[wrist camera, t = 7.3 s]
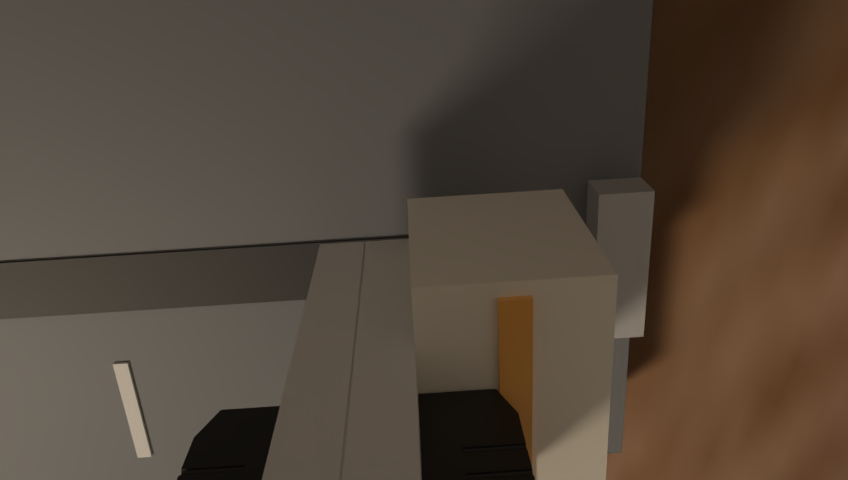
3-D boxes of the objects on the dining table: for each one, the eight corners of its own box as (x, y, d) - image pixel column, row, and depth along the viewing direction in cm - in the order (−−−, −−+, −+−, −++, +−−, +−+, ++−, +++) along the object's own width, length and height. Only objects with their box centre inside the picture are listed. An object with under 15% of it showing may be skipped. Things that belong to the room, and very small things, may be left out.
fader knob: (419, 367, 15) (430, 573, 10) (405, 161, 13) (410, 292, 8) (536, 359, 15) (603, 561, 10) (538, 152, 13) (620, 278, 8)
